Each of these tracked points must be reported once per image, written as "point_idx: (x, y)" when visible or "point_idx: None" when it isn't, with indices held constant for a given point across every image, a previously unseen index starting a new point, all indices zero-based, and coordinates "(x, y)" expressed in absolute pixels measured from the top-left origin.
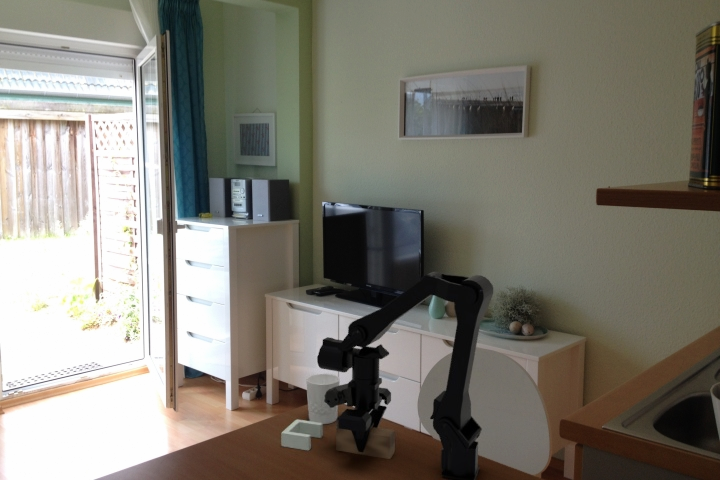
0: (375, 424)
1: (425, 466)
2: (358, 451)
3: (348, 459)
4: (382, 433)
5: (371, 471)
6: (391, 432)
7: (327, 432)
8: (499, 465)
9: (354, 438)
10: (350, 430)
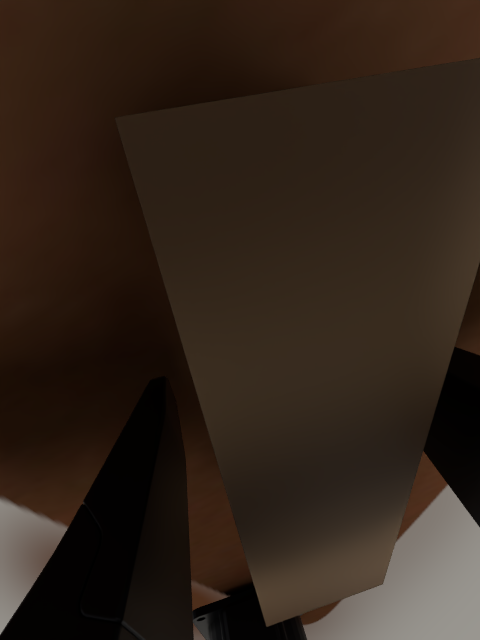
0: (466, 485)
1: (240, 556)
2: (152, 380)
3: (57, 325)
4: (299, 589)
5: (37, 495)
6: (342, 594)
7: None
8: (333, 606)
9: (83, 505)
10: (218, 412)
